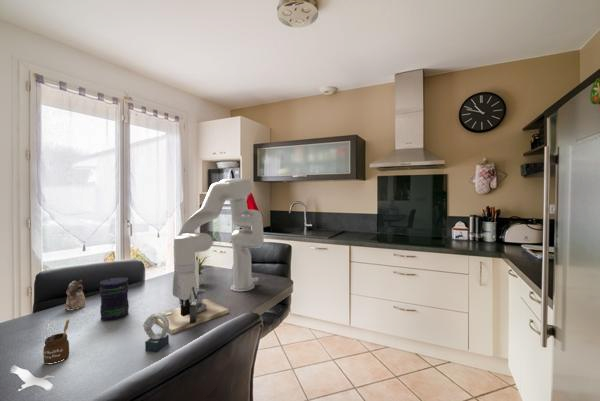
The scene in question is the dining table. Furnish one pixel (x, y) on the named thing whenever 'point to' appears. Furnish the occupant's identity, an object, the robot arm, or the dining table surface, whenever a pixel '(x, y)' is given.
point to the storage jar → (114, 298)
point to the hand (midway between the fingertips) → (185, 314)
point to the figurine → (75, 296)
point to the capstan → (197, 306)
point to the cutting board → (183, 322)
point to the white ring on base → (157, 339)
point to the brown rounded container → (56, 346)
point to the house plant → (201, 269)
